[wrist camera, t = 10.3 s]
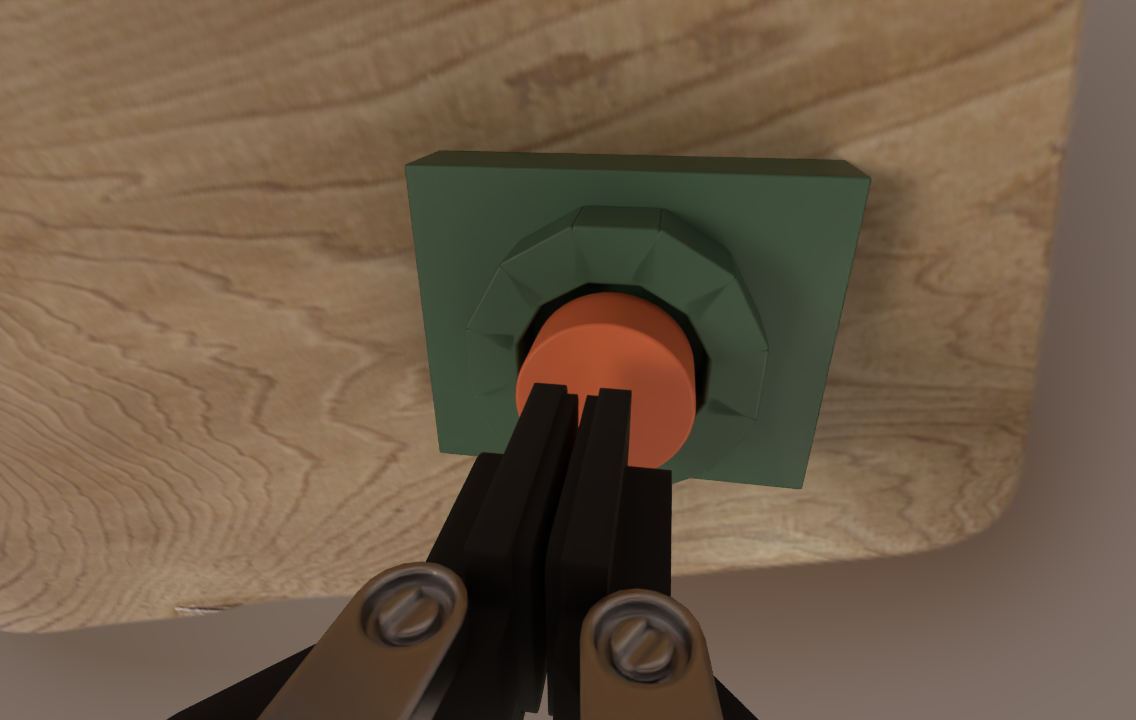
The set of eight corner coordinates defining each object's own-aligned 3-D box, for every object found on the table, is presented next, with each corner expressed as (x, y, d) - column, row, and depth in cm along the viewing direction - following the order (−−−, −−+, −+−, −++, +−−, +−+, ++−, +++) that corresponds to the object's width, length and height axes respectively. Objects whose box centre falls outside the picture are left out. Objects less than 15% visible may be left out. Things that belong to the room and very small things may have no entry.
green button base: (846, 159, 14) (902, 196, 10) (789, 442, 18) (815, 539, 14) (438, 149, 15) (366, 179, 12) (463, 412, 19) (414, 494, 16)
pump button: (701, 295, 12) (705, 331, 11) (686, 440, 14) (687, 489, 12) (530, 286, 13) (510, 318, 11) (535, 426, 14) (518, 471, 13)
